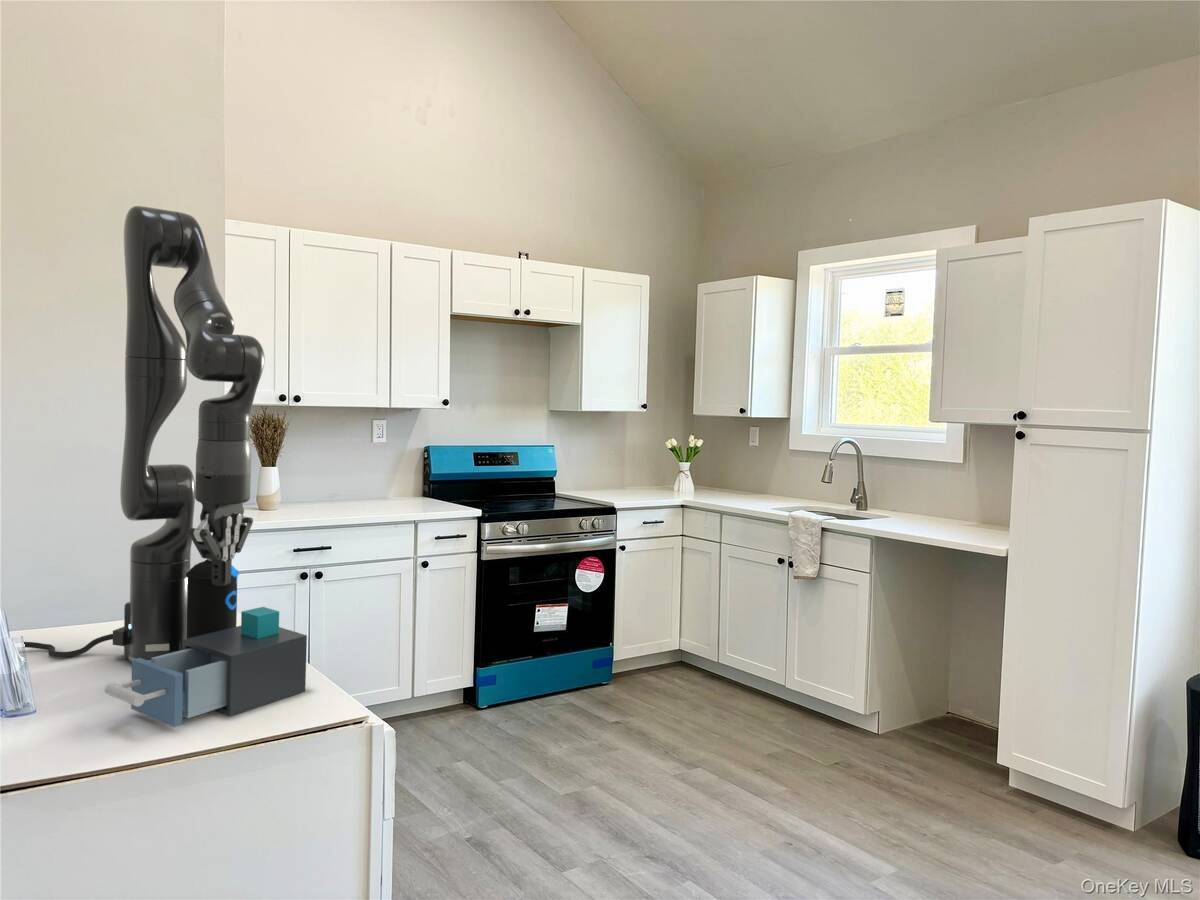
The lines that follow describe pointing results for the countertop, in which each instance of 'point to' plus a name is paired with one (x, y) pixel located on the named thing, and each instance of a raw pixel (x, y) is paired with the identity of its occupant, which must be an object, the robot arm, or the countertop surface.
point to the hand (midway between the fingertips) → (221, 584)
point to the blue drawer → (175, 685)
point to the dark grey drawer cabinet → (256, 666)
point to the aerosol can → (210, 601)
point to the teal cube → (259, 622)
